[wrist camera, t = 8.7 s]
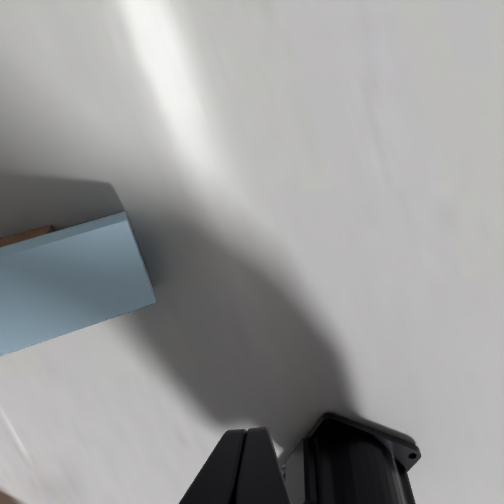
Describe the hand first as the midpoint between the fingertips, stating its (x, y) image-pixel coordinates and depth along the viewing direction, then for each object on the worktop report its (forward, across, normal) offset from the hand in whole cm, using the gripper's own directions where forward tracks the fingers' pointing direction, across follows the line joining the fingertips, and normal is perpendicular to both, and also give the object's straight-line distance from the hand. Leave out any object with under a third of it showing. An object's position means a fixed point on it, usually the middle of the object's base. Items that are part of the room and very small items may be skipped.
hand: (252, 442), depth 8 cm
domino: (+12, +7, +1) cm, 13 cm away
